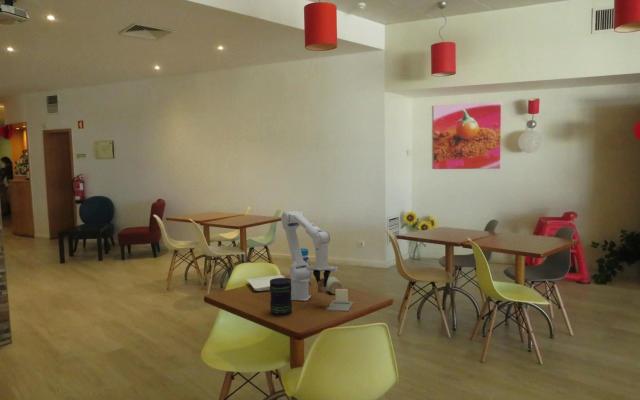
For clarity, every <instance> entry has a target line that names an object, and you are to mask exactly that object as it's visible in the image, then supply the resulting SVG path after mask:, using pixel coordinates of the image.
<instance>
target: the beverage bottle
mask: <svg viewBox="0 0 640 400" xmlns="http://www.w3.org/2000/svg"><path fill="white" fill-rule="evenodd" d="M300 249H301V253H302V257H303V260H304V261H305V262H307V263H308V264H309V266H311V265H310V262H311V261H310V258H309V257H308V256H309V249H308V248H301V247H300ZM299 268H302V267H299ZM310 285H311V279H310V280H309V281H308V287H309V286H310Z"/></svg>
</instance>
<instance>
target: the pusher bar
mask: <svg viewBox="0 0 640 400" xmlns="http://www.w3.org/2000/svg"><path fill="white" fill-rule="evenodd" d="M326 290H327V289H326V287H324V277H323V278H321V277H320V280H319V281H318V284H317V293H319V294H324V292H325V291H326Z"/></svg>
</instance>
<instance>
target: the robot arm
mask: <svg viewBox="0 0 640 400" xmlns="http://www.w3.org/2000/svg"><path fill="white" fill-rule="evenodd" d="M280 221H281V224H282V229H284V232H285V236H286V239H287V244H288V247H289V251H290V256H291V260H292V264H291V265H290V266H289V277H290V279H291V286H292V288H291V290H292V291H291V300H292V301H306V302H307V301H308V300H309V299H310V298H311V296H312V295H311V294H310V295H309V290H310V289H309V286H308V281H309V280H310V281H311V278H312V275H313V276H314V278H315V281H316V283H317V285H318V281H319V280H320V279H321V272H323V274H322V275H323V278H324V287H326V286H327V280H328V278H329V277H330V274H331V272H334V273H337V272H338V266H331V265H329V262H328V261H329V256H328V255H329V254H328V252H329V251H328V249H329V248H328V245H329V243H330V242H331V236H330V233H329V232H328V231H327V230H322V229H321V228H320V227H318V226H317V224H316V223H315V222H313V223H312V222H311V223H310V221H308V219H307V218H306V217H305V215H304V212H302V211H301V210H292V211H291V210H290V211H283V212H282V213H281V217H280ZM300 226H301V227H302V228H303V229H305V230H304V231H305V233H306V234H307V235H308V236H309V237H310V238H311V239H312V243H313V247H314V250H315V265H310V266H309V264H310V263H309V264H308V263H307V262H305V261H304V260H303V257H302V253H301V246H300V241H299V238H298V235H297V229H298V228H299V227H300ZM299 267H302V268H299Z"/></svg>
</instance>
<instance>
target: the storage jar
mask: <svg viewBox="0 0 640 400" xmlns="http://www.w3.org/2000/svg"><path fill="white" fill-rule="evenodd" d="M291 281H292V279H291V278H288V277H285V278H275V279H271V280H270V290H269V293H270V302H269V304H270V305H269V308H270V315H271V316H273V317H286V316H290V315H292V313H293V300H291V291H292V290H291V288H292V286H291Z"/></svg>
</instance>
